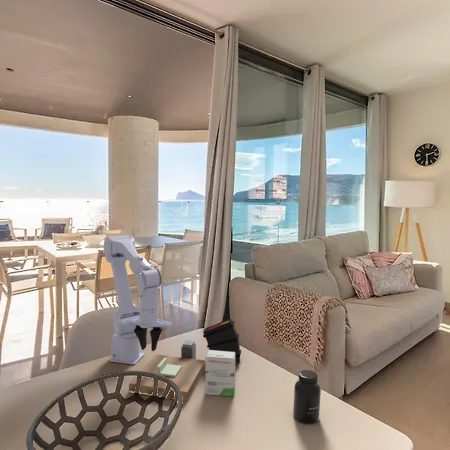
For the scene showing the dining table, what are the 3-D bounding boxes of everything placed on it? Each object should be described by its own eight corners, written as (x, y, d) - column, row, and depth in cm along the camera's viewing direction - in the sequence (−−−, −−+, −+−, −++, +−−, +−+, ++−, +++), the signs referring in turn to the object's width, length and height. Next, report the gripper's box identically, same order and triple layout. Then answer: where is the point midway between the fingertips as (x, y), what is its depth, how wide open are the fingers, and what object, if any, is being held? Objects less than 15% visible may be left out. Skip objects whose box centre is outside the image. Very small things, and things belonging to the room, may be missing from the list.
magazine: (248, 360, 121) (230, 321, 120) (214, 373, 123) (197, 334, 123) (249, 355, 124) (232, 317, 124) (216, 367, 127) (199, 330, 126)
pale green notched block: (156, 374, 108) (156, 366, 107) (164, 365, 113) (164, 357, 113) (175, 377, 106) (175, 369, 106) (181, 367, 112) (181, 359, 112)
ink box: (235, 388, 107) (236, 351, 105) (233, 397, 102) (234, 358, 101) (207, 385, 108) (208, 348, 107) (204, 394, 103) (205, 356, 102)
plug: (181, 363, 121) (181, 344, 120) (184, 358, 125) (185, 339, 124) (192, 365, 120) (192, 345, 119) (195, 359, 124) (195, 340, 123)
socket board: (128, 393, 103) (128, 383, 103) (155, 362, 121) (155, 354, 121) (187, 401, 99) (187, 391, 99) (205, 369, 118) (205, 360, 117)
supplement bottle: (314, 428, 89) (316, 384, 88) (289, 419, 93) (291, 376, 91) (322, 414, 95) (324, 372, 94) (298, 405, 98) (300, 365, 97)
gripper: (121, 309, 107) (121, 352, 108) (165, 314, 104) (165, 357, 105) (132, 302, 114) (132, 342, 115) (174, 306, 111) (173, 347, 112)
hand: (148, 349), depth 111 cm, fingers open, 3 cm apart
